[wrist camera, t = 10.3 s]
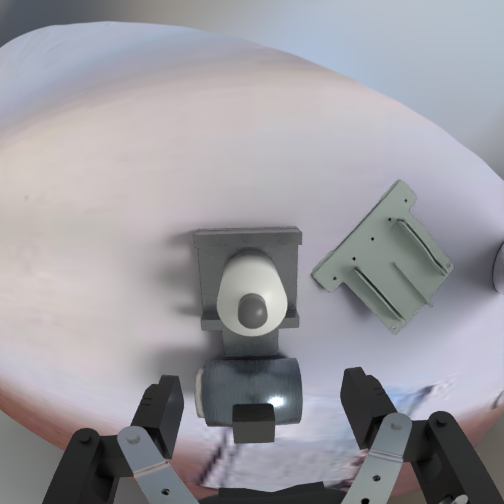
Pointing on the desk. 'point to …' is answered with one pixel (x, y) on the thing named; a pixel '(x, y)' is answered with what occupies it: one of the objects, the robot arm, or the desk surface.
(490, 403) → the desk surface
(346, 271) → the metal bracket
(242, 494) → the robot arm
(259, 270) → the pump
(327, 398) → the desk surface
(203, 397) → the motor
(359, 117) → the desk surface
